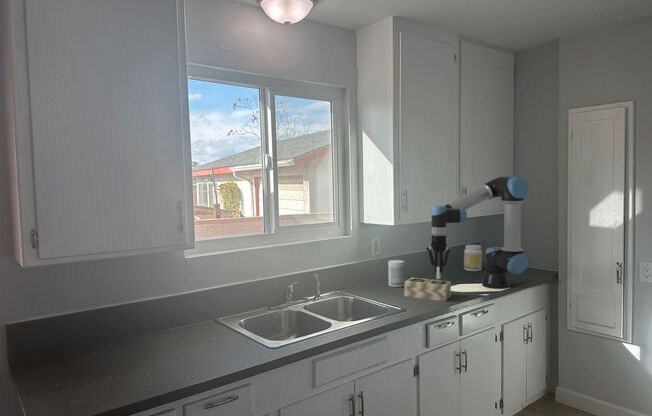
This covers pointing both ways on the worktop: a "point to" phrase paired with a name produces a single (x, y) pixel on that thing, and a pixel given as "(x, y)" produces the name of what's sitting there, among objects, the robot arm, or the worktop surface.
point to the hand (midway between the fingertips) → (438, 278)
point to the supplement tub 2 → (473, 258)
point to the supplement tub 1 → (396, 273)
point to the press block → (427, 289)
